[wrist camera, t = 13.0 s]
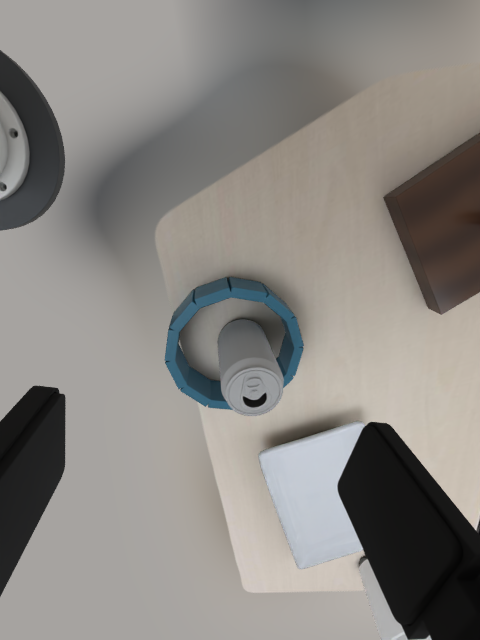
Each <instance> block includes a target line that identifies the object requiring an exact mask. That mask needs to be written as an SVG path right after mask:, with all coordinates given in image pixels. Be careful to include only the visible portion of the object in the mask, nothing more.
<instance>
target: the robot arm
mask: <svg viewBox="0 0 480 640" xmlns="http://www.w3.org/2000/svg"><path fill="white" fill-rule="evenodd" d="M17 132H18V137H17V136H16V133H17ZM29 157H30V150H29V144H28V138H27V135H26V132H25V129H24V126H23V124H22V122H21V120H20V118H19V116H18V114H17V112H16V110H15V109H14V107H13V106H12V105H11V103H10V102H9V100H8V99H7V98H6V97H5V96H4V95H3V93H2V92H1V91H0V201H1V200H3V199H6V198H8V197H9V196H11V195H12V194H13V193H15V192H16V191H17V190H18V188H19V187H20V186H21V185H22V183H23V181H24V179H25V177H26V175H27V171H28V167H29ZM5 185H6V186H7V189H6V187H5ZM64 467H65V395H64V394H59V390H58V388H52V387H44V386H33V387H32V388H31V389H30V390H29V391H28V392H27V393H26V394H25V395H24V396H23V397H22V399H20V401H19V402H18V403H17V404H16V405H15V406H14V407H13V408H12V409H11V410H10V412H9V413H8V414H7V415H6V416H5V417H4V418H3V419H2V420H1V421H0V596H1V594H2V592H3V590H4V588H5V586H6V584H7V582H8V580H9V579H10V577H11V575H12V572H13V571H14V569H15V567H16V565H17V563H18V561H19V559H20V557H21V555H22V553H23V551H24V549H25V547H26V546H27V544H28V542H29V540H30V538H31V536H32V534H33V532H34V530H35V528H36V526H37V524H38V522H39V520H40V518H41V516H42V514H43V512H44V511H45V508H46V507H47V505H48V503H49V501H50V499H51V497H52V495H53V493H54V491H55V489H56V487H57V485H58V483H59V481H60V479H61V477H62V474H63V472H64ZM337 490H338V494H339V496H340V499H341V501H342V503H343V505H344V507H345V510H346V512H347V514H348V516H349V519H350V521H351V523H352V525H353V528H354V530H355V532H356V534H357V537H358V539H359V541H360V543H361V545H362V548H363V550H364V552H365V554H366V557H367V559H368V561H369V563H370V566H371V568H372V570H373V572H374V575H375V577H376V579H377V581H378V583H379V586H380V588H381V590H382V592H383V595H384V597H385V599H386V601H387V604H388V606H389V608H390V610H391V613H392V615H393V616H394V618H395V620H396V621H397V622H398V623H399V624H401V626H402V628H403V630H404V633H405V635H406V637H407V639H408V640H414V639H426V638H427V637H428V636H429V635H430V637H431V639H432V640H480V535H479V534H478V533H477V532H476V530H475V529H474V528H473V527H472V525H471V524H470V523H469V522H468V520H467V519H466V518H465V517H464V515H463V514H462V513H461V512H460V511H459V509H458V508H457V507H456V506H455V504H454V503H453V502H452V501H451V499H450V498H449V497H448V496H447V494H446V493H445V492H444V491H443V490H442V488H441V487H440V486H439V485H438V483H437V482H436V481H435V480H434V478H433V477H432V476H431V475H430V473H429V472H428V471H427V470H426V469H425V467H424V466H423V465H422V464H421V462H420V461H419V460H418V459H417V457H416V456H415V455H414V454H413V453H412V451H411V450H410V449H409V448H408V446H407V445H406V444H405V443H404V441H403V440H402V439H401V438H400V436H399V435H398V434H397V433H396V432H395V430H394V429H393V428H392V427H391V426H390V425H389V424H387V423H377V422H370V423H368V425H367V426H365V427H363V429H362V431H361V433H360V435H359V438H358V440H357V442H356V444H355V446H354V448H353V451H352V453H351V455H350V457H349V459H348V461H347V464H346V466H345V468H344V470H343V472H342V474H341V477H340V479H339V481H338V485H337Z"/></svg>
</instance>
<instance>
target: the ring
mask: <svg viewBox="0 0 480 640" xmlns="http://www.w3.org/2000/svg"><path fill="white" fill-rule="evenodd" d="M230 297H232V298H239V299H245V300H251V301H257V302H263V303H265V304H266V305H267V306H268V307H269V308H271V309H272V310H273V311H274V312H275V313H277V314H278V315H279V316H280V317H281V320H282V324H283V327H284V330H285V336H284V339H283V343H282V346H281V350H280V353H279V357H278V358H277V359H276V361H277V363H278V365H279V368H280V370H281V372H282V375H283V379H284V385H283V388H284V387H285V386H286V385H287V384H288V383H289V382H290V381H291V380H292V379H293V376H295V374H296V371H297V368H298V365H299V361H300V358H301V355H302V352H303V347H302V346H304V344H303V341H302V337H301V334H300V330H299V327H298V323H297V319H296V317H295V316H294V314H293V312H292V311H291V310H290V308H289V307H288V306H287V304H286V303H285V302H284V301H283V300H282V299H281V298H279V297H278V296H277V295H276V294H275V293H274V292H272V291H271V290H270V289H269V288H268V287H267V286H265V285H264V284H261V282H257V281H251V280H245V279H239V278H233V277H229V280H227V278H226V277H225V278H222V279H219V280H217V281H214V282H211V283H208V284H205V285H203V286H200V287H197V288H196V291H195V290H193V291H192V292H191V293H190V294H189V295H188V296H187V298H186V299H185V300H184V301H183V302H182V304H181V305H180V306H179V307H178V308H177V310H176V311H175V312H174V314H173V316H172V319H171V323H170V326H169V330H168V338H167V346H166V354H165V361H166V362H165V363H166V365H167V367H168V369H169V371H170V373H171V375H172V377H173V379H174V381H175V383H176V385H177V387H178V389H180V388H181V392H183V393H185V394H186V395H188V396H189V397H191V398H193V399H194V400H196V401H197V402H199V403H201V404H202V405H204V406H205V407H206V406H207V405H208V407H209V408H219V409H230V410H233V409H232V408H231V407H230V406H229V405H228V403H227V401H226V400H225V398H224V397H223V395H222V391H221V381H215V380H210V379H208V378H206V377H205V376H203V375H202V374H200V373H199V372H197V371H196V370H194V369H193V368H191V367H190V366H189V365H188V363H187V360H186V358H185V356H184V354H183V352H182V350H181V348H180V346H179V344H178V343H179V336H180V331H181V329H182V328H183V327H184V326H185V325H186V324H187V323H188V321H189V320H190V319H191V318H192V317H193V316H194V314H195V313H196V312H197V311H198V310H199V309H200V308H202V307H205V306H208V305H211V304H214V303H216V302H219V301H222V300H225V299H228V298H230Z"/></svg>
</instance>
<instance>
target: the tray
mask: <svg viewBox="0 0 480 640" xmlns="http://www.w3.org/2000/svg"><path fill="white" fill-rule="evenodd" d="M363 427H365V425H364V423H363V422H361V421H355V422H352V423H349V424H346V425H342V426H339V427H336V428H333V429H330V430H327V431H324V432H321V433H318V434H314V435H311V436H308V437H305V438H302V439H299V440H295V441H292V442H288V443H285V444H281V445H278V446H274V447H271V448H268V449H265V450H263V451H261V452H260V453H259V455H258V457H259V462H260V466H261V469H262V472H263V475H264V478H265V480H266V483H267V486H268V489H269V492H270V495H271V498H272V500H273V503H274V506H275V509H276V512H277V514H278V517H279V520H280V523H281V525H282V528H283V530H284V533H285V536H286V538H287V541H288V544H289V546H290V549H291V552H292V554H293V557H294V560H295V563H296V565H297V567H298V568H299V569H305V568H308V567H312V566H315V565H318V564H321V563H324V562H327V561H330V560H334V559H337V558H340V557H343V556H346V555H350V554H353V553H356V552H359V551H362V550H363V548H362V545H361V543H360V541H359V539H358V537H357V534H356V532H355V530H354V528H353V525H352V523H351V521H350V519H349V516H348V514H347V512H346V510H345V507H344V505H343V503H342V501H341V499H340V496H339V494H338V490H337V485H338V481H339V479H340V477H341V474H342V472H343V470H344V468H345V466H346V464H347V461H348V459H349V457H350V455H351V453H352V451H353V448H354V446H355V444H356V442H357V440H358V438H359V435H360V433H361V431H362V429H363Z"/></svg>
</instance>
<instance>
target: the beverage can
mask: <svg viewBox="0 0 480 640" xmlns="http://www.w3.org/2000/svg"><path fill="white" fill-rule="evenodd" d="M218 354H219V368H220V381H221V391H222V395H223V397H224V398H225V400H226V401H227V403H228V405H229V406H230V407H231V408H232V409H233V410H234V411H235V412H237V413H239V414H242V415H246V416H257V415H262V414H264V413H267V412H269V411H270V410H272V409H273V408H274V407H275V406H276V405H277V404H278V403H279V401H280V399H281V397H282V394H283V385H284V379H283V375H282V372H281V370H280V368H279V365H278V363H277V361H276V358H275V356H274V354H273V351H272V349H271V347H270V344H269V342H268V340H267V338H266V335H265V333H264V331H263V329H262V328H261V327H260V326H259V325H258V324H257V323H255V322H253V321H250V320H245V319H241V320H235V321H233V322H230V323H229V324H227V325H226V326H225V327H224V328H223V329H222V331H221V332H220V334H219V337H218Z"/></svg>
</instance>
